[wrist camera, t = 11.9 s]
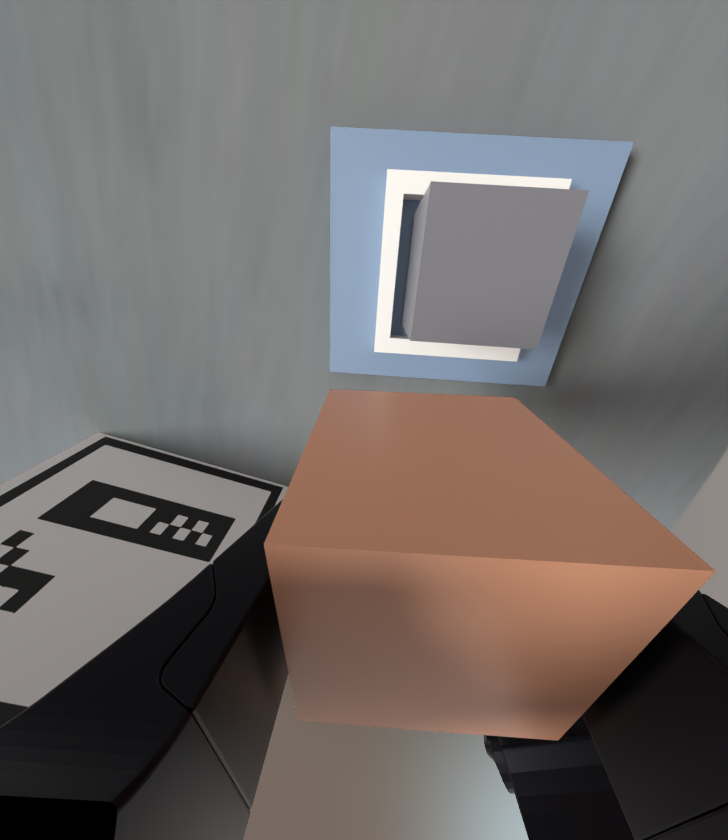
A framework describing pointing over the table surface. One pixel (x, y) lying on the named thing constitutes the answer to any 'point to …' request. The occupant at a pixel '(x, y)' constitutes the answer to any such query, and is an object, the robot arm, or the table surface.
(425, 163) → the board
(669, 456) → the table surface
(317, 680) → the terracotta cube
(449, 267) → the charcoal cube
